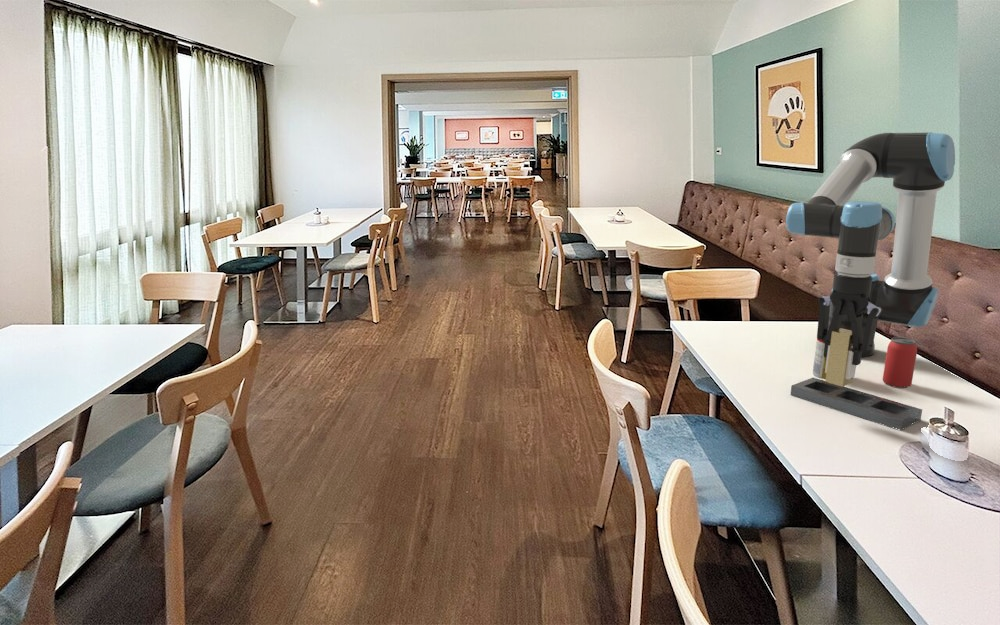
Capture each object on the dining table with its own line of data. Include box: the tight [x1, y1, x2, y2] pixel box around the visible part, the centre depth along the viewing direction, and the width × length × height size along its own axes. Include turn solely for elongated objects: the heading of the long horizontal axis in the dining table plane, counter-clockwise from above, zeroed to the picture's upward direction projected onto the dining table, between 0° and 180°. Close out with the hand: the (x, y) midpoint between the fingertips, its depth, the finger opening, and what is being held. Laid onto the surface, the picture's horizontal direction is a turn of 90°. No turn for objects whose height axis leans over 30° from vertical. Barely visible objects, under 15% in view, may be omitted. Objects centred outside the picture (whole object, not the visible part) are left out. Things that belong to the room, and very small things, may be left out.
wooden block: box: [824, 328, 853, 387], centre depth 154 cm, size 4×4×12 cm
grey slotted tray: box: [790, 377, 923, 431], centre depth 162 cm, size 10×26×2 cm, turn 37°
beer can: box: [882, 336, 918, 389], centre depth 176 cm, size 7×7×12 cm
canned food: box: [812, 338, 827, 380], centre depth 182 cm, size 8×8×12 cm
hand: (839, 374), depth 155 cm, fingers closed on wooden block, 4 cm apart
